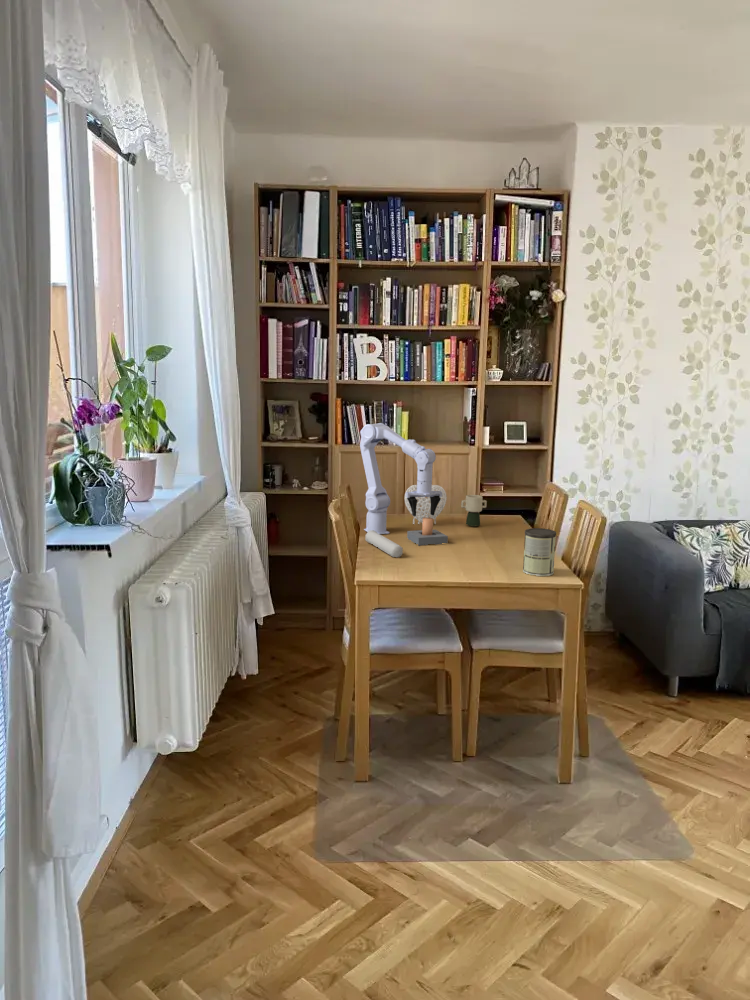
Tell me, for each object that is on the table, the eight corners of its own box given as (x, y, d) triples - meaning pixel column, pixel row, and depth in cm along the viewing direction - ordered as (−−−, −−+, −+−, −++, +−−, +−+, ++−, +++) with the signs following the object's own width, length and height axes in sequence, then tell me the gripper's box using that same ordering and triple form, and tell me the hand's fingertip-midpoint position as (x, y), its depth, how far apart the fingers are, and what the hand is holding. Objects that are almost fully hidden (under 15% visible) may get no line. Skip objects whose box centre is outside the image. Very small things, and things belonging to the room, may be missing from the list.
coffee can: (518, 568, 262) (520, 528, 260) (547, 568, 263) (550, 527, 261) (528, 576, 252) (530, 534, 250) (558, 576, 253) (561, 534, 251)
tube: (407, 547, 273) (379, 531, 295) (394, 543, 271) (367, 528, 293) (402, 561, 273) (375, 545, 296) (389, 558, 271) (363, 541, 293)
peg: (420, 540, 300) (421, 517, 299) (429, 539, 302) (430, 517, 300) (424, 542, 296) (425, 519, 295) (433, 542, 298) (434, 519, 296)
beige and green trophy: (483, 524, 332) (484, 494, 330) (487, 527, 325) (488, 497, 323) (458, 524, 331) (459, 494, 329) (462, 527, 324) (463, 497, 322)
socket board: (407, 538, 303) (407, 531, 302) (435, 536, 306) (435, 529, 306) (418, 545, 291) (418, 537, 291) (447, 543, 295) (447, 536, 295)
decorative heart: (443, 521, 335) (444, 483, 332) (447, 527, 325) (449, 487, 322) (402, 521, 334) (403, 482, 331) (405, 527, 324) (406, 486, 320)
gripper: (410, 482, 290) (409, 518, 293) (446, 481, 295) (444, 516, 297) (404, 480, 297) (403, 514, 299) (438, 479, 301) (437, 512, 304)
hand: (423, 515), depth 299 cm, fingers open, 7 cm apart
